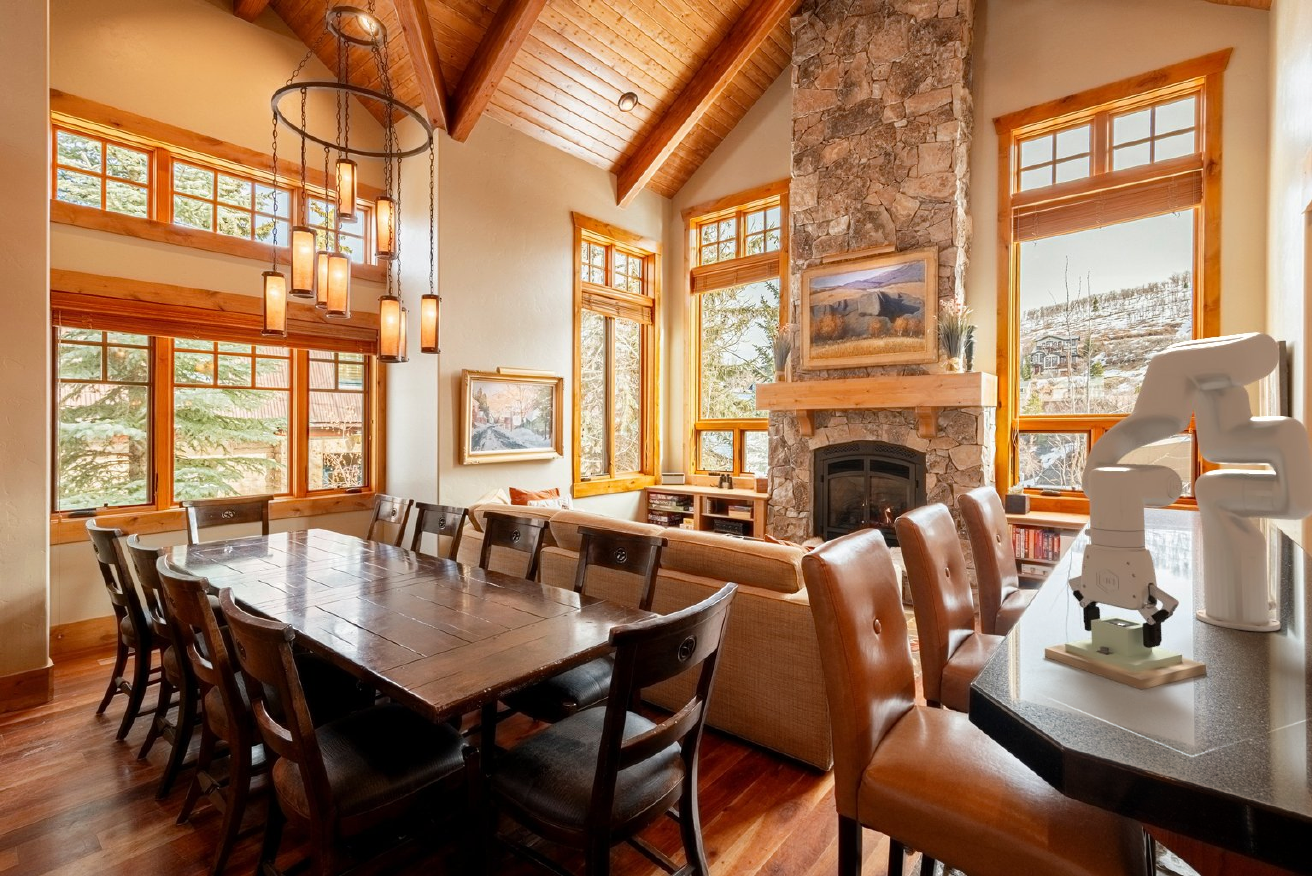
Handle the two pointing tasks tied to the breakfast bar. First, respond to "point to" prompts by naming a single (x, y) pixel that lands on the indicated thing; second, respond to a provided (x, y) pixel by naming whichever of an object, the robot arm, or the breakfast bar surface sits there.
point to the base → (1125, 676)
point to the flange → (1122, 646)
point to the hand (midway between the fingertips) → (1121, 637)
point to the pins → (1105, 649)
